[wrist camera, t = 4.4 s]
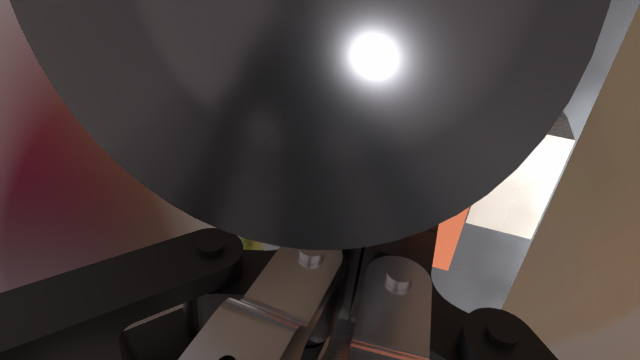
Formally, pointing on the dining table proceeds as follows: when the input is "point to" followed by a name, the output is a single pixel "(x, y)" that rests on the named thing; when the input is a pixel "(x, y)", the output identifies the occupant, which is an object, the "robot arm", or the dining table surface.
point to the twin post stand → (341, 115)
